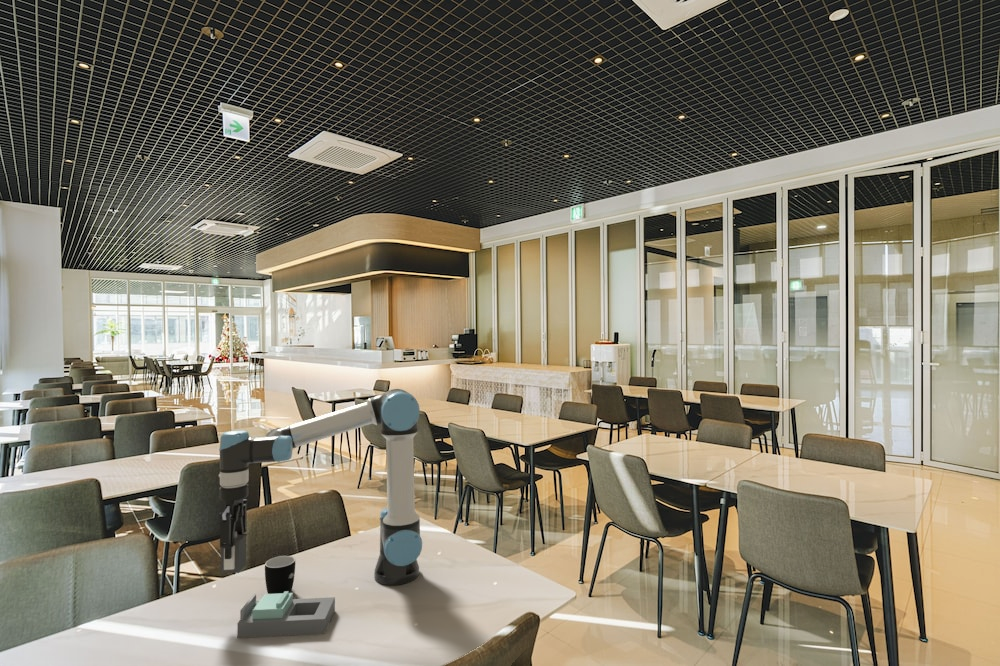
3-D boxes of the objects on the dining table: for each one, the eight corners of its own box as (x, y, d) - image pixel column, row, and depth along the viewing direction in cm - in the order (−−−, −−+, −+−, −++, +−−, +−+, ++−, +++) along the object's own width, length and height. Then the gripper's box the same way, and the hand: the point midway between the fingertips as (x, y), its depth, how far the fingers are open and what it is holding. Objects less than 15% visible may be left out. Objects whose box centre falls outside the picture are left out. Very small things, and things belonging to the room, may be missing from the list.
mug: (290, 599, 156) (291, 566, 157) (260, 601, 155) (261, 568, 155) (300, 581, 168) (300, 551, 169) (272, 583, 167) (272, 552, 167)
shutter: (292, 601, 147) (293, 589, 147) (282, 617, 138) (282, 605, 138) (264, 602, 146) (264, 590, 147) (252, 619, 137) (252, 606, 138)
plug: (245, 565, 149) (246, 529, 149) (238, 572, 144) (239, 535, 144) (228, 565, 149) (228, 529, 149) (220, 573, 144) (220, 536, 144)
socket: (334, 610, 150) (335, 588, 150) (324, 633, 138) (325, 609, 138) (254, 614, 147) (254, 591, 148) (237, 638, 136) (237, 613, 136)
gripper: (234, 477, 156) (233, 552, 155) (205, 494, 138) (205, 579, 137) (259, 476, 156) (258, 551, 156) (234, 493, 138) (233, 578, 138)
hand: (233, 564), depth 146 cm, fingers closed on plug, 5 cm apart
